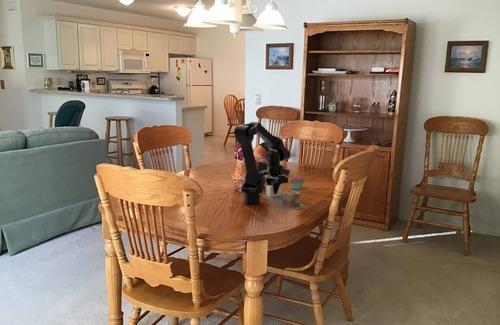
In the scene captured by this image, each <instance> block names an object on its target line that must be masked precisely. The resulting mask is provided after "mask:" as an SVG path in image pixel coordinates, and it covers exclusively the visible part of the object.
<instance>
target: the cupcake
mask: <svg viewBox="0 0 500 325" xmlns="http://www.w3.org/2000/svg"><path fill="white" fill-rule="evenodd" d="M293 175H294V176H291V177H290V178H288V183H290V185H291V189H292V190H294V191H297V190H298V191H299V190H302V187H303V185H305V183H306V180H305V178H304V177H303V176H302V175H301V176H300V175H297V174H296V169H295V168H293Z"/></svg>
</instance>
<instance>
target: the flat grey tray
mask: <svg viewBox="0 0 500 325" xmlns="http://www.w3.org/2000/svg"><path fill="white" fill-rule="evenodd" d="M265 186H266V190H265V192H266V193H265V194H263V195H260V197H261V196H262V197H263V198H265V199H267V200H268V201H271V202H272V203H275V204H276V205H278V206H280V207H282V208H284V209H286V210H295V209H302V208H308V205H305V204H304V203H302V202H300V206H295V207H288V206H286V205H284V204H283V193H281V189H282V188H281V185H280V186H279V189H278V192H277V194H274V191H273V187H272V185H267V184H266V185H265Z"/></svg>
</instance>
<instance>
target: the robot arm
mask: <svg viewBox="0 0 500 325" xmlns="http://www.w3.org/2000/svg"><path fill="white" fill-rule="evenodd" d="M233 134H234V136H235V137H234V138H235V139H236V141H237V143H239V145H240V147H241V152H242V156H243V161H244V165H245V171H246V175H244V176H245V177H244V182H243V184H242V186H241V188H240V191H241V192H243V193H244V197H243V198H244V200H243V202H244V203H243V204H244V205H245V206H246V207H247V208H249V207H248V206H256V205H258V204H260V200H261V199H260V197H261V195H260V194H262V192H263V187H264V182H265V184H266V186H267V185H272V187H273V191H274V194H277V192H278V189H279V186H281V185H283V184H288V183H289V178H288V177H289V175H290V172H291V170H290V169H286V168H285V166H284V165H282V164H281V162H284V161H288V160H289V159H291V156H292V155H291V152H290V150H289V149H288V147H287V146H285V144H284V141H283V139H282V138H281V137H278V136H275V135H274V134H272V133H271V132H270V131H268V130H267V128H266V127H264V126H263V125H262V123H261V122H259V121H251V122H248V123H244V124H238V125H236V127H235V128H234V130H233ZM256 135H257V136H258V137H259V138H260V139H262V140H263V141H264V144H265V146H266V147H267V148H268V149H269V150H268V151H266V153H265V155H268V164H267V163H266V167H267V168H268V169H263V170H260V171H259V170H258V168H257V163H256V162H257V161H256V158H255V154H254V153H255V151H254V148H253V140H254V138H255V137H254V136H256Z"/></svg>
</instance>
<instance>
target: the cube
mask: <svg viewBox="0 0 500 325" xmlns="http://www.w3.org/2000/svg"><path fill="white" fill-rule="evenodd" d="M282 194H283V204H284V205H286V206H288V207H295V206H300V203H301V200H302V199H301V198H302V197H301V195H302V194H301V192H298V191H297V190H295V189H292V190H286V191H285V190H284V191H283V192H282Z"/></svg>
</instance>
